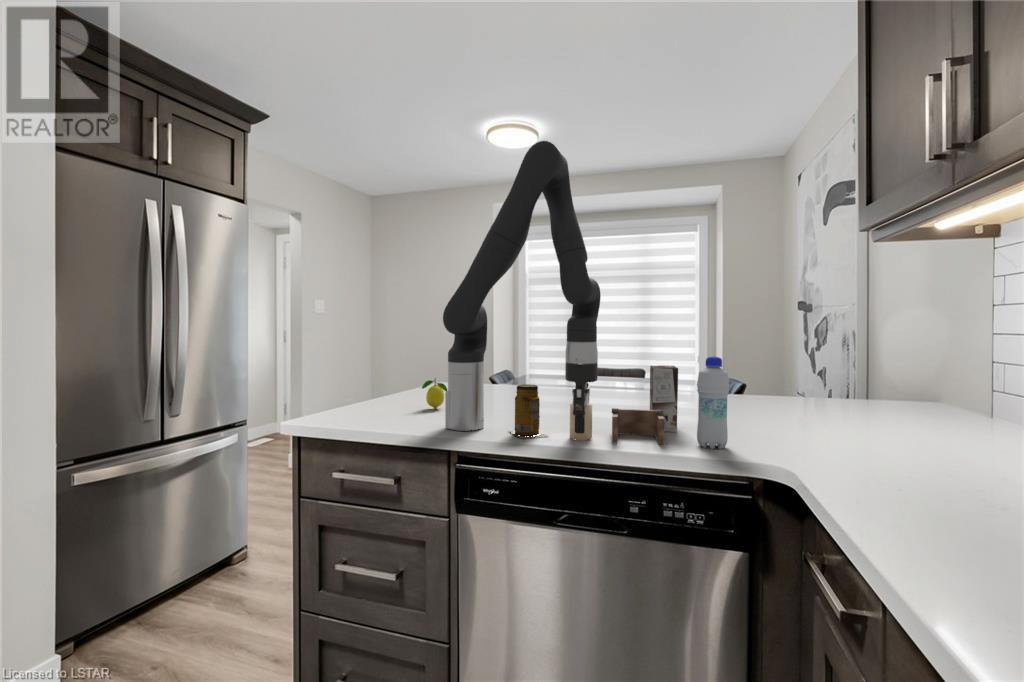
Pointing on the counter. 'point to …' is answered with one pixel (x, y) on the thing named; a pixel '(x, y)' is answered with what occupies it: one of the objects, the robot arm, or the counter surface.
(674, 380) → the coffee box
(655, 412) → the holder
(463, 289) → the robot arm
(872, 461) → the counter surface
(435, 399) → the lemon
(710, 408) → the bottle
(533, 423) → the condiment
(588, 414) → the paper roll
